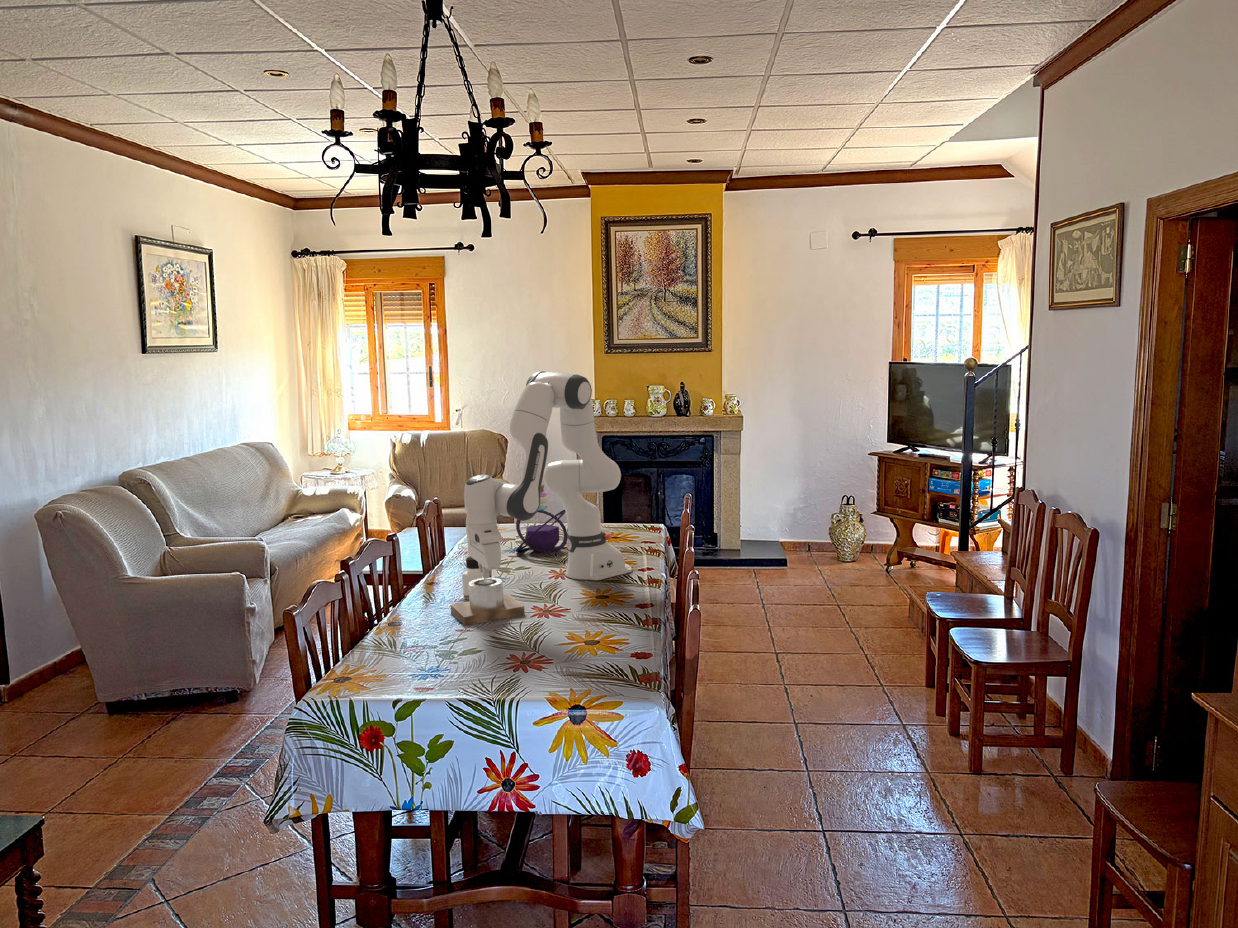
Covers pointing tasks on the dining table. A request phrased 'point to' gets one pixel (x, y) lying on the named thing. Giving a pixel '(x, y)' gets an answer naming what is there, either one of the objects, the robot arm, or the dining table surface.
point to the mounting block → (486, 611)
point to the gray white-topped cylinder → (485, 582)
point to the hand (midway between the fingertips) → (485, 577)
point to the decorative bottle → (543, 532)
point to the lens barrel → (486, 595)
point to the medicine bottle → (471, 574)
